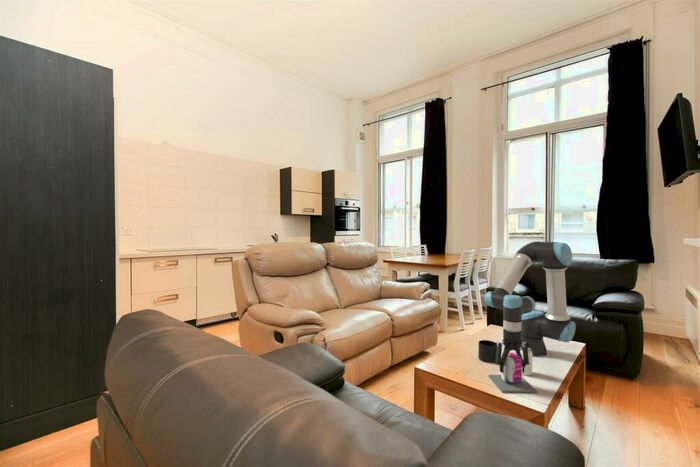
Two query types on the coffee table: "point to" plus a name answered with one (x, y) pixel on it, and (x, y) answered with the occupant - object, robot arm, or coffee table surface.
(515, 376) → the supplement box
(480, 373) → the coffee table surface
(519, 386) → the mat
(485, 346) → the mug
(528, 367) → the can
